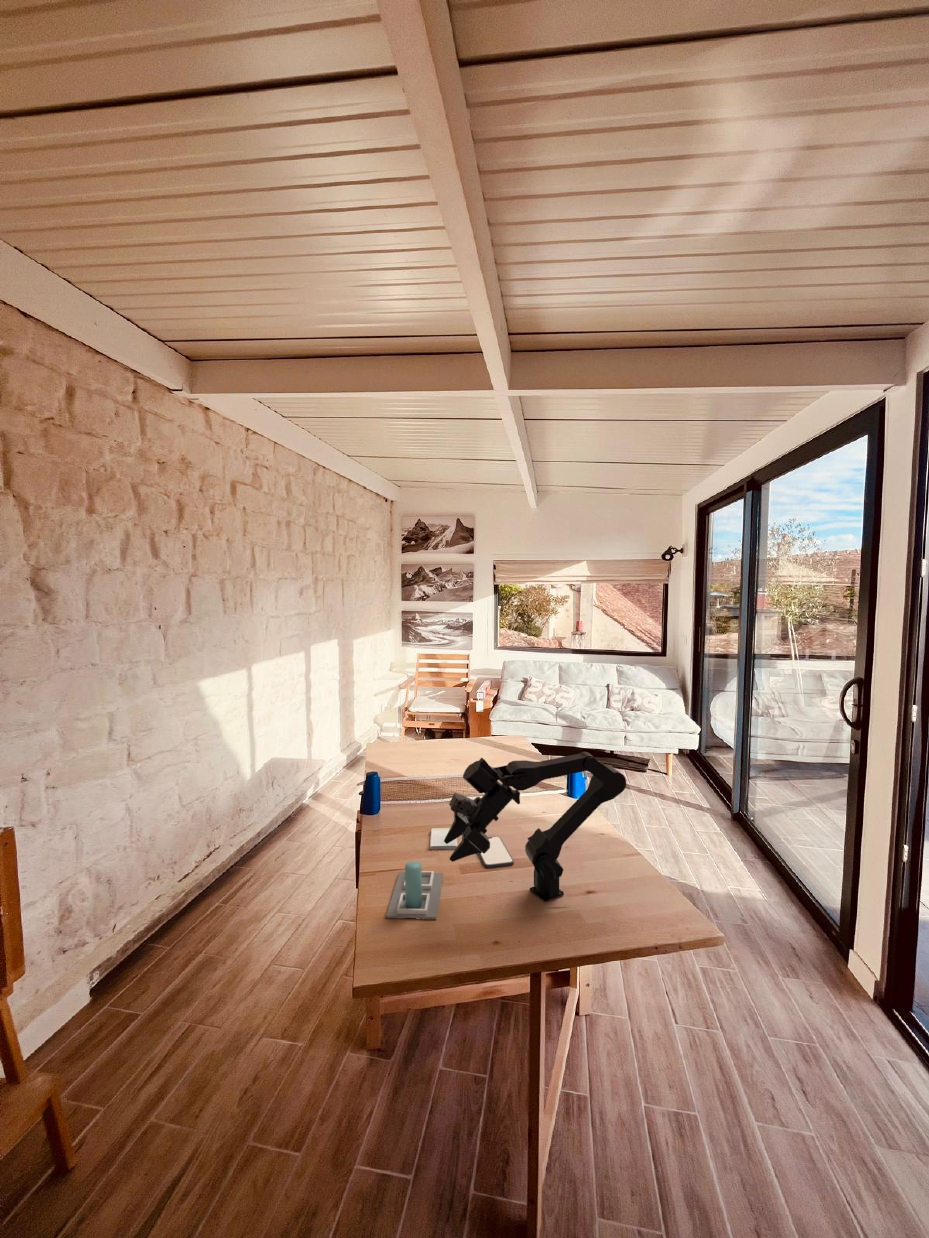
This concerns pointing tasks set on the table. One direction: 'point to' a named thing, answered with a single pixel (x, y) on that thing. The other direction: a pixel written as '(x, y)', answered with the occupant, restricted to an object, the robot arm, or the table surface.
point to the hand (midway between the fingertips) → (447, 851)
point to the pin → (413, 885)
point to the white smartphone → (496, 854)
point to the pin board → (429, 897)
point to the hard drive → (441, 839)
